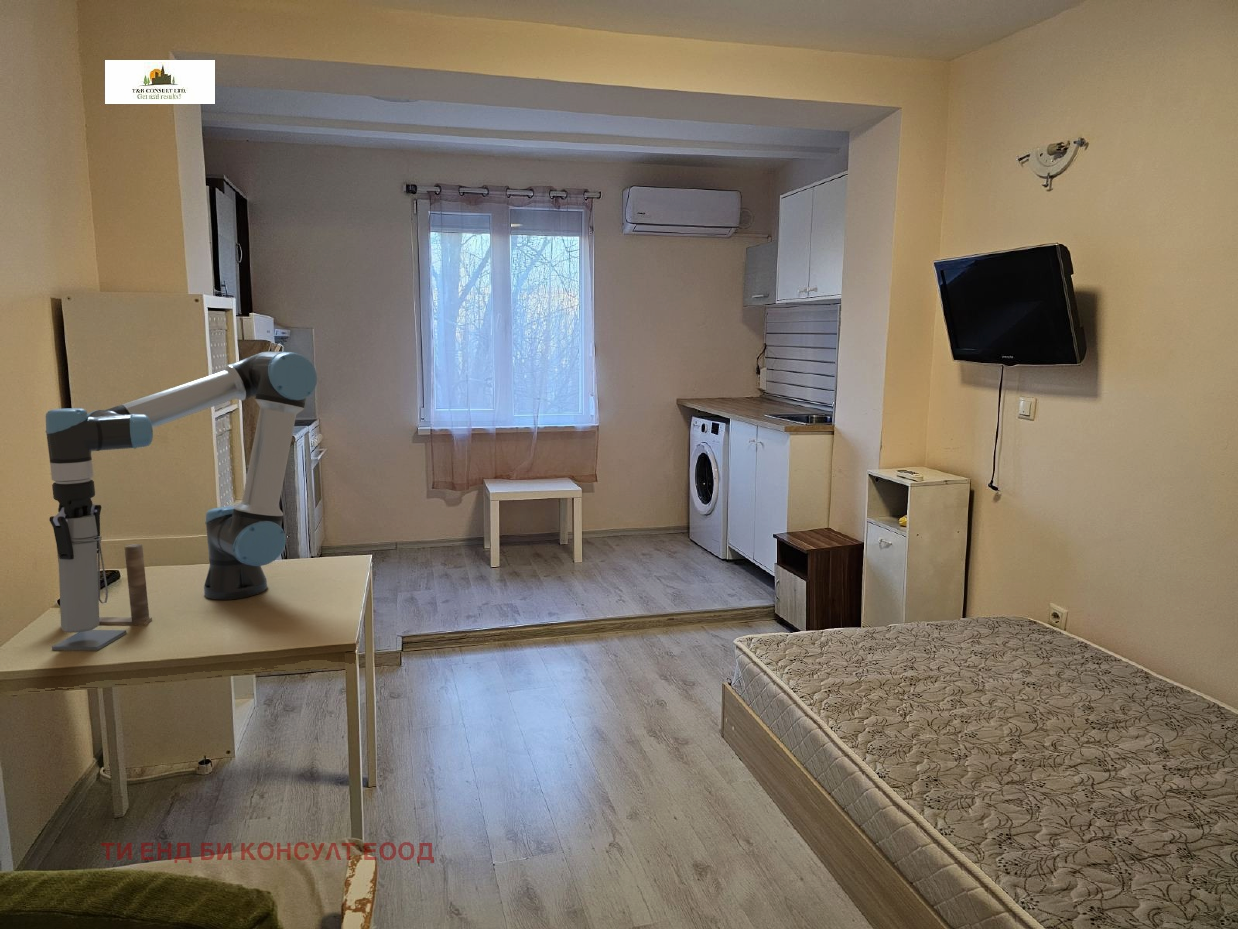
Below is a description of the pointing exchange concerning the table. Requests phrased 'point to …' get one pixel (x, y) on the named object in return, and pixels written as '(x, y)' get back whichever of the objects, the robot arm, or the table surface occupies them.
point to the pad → (89, 640)
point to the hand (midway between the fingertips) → (83, 585)
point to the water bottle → (81, 577)
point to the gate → (133, 590)
